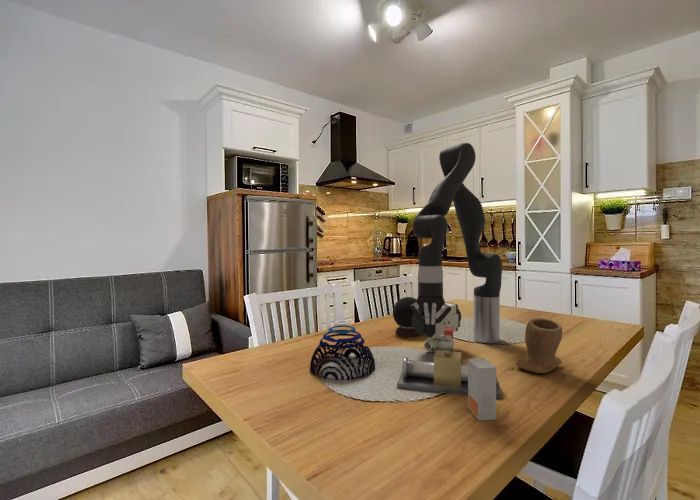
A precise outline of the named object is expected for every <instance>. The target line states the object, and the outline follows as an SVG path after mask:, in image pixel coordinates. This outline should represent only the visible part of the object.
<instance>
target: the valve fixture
mask: <svg viewBox="0 0 700 500" xmlns="http://www.w3.org/2000/svg"><path fill="white" fill-rule="evenodd" d="M492 365H493V366H495V364H492ZM401 369H402V371H401V373H400V375H399V378H398V380H397V383H396V388H397V389H404V390H413V391H421V392H423V391H424V392H433V393H440V392H444V393H443V394H449V395H450V394H451V395H459V396H460V395H462V396H468V364H462V352H461V351H452V350H445V351H440V350H435V352H434V354H433V361H425V360H423V361H422V360H410V359H409V358H408V357H403V360H402V368H401ZM497 399H498V400H501V399H502V394H501V390H500V385H499V382H498V377H497V376H496V400H497Z"/></svg>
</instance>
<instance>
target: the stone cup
mask: <svg viewBox="0 0 700 500" xmlns="http://www.w3.org/2000/svg"><path fill="white" fill-rule="evenodd" d="M525 327H526V328H525V333H524V336H525V337H524V339H525V345H526V350H527V353H526V354H525V355H523V356H521V357H520V358H518V359H516V360H515V362H514V364H515V366H517V367H518V368H520V369H522V370H525V371H528V372H532V373H535V374H537V373H538V374H546V373H549V372H552V371H553V370H554V369H555V368H557V367H558V366H559V365H560V364H562V362H563V361H562V359H560V358H559V357H558V356H556V353H557V350H558V348H559V346H560V343H561V341H562V338H563V327H562V325H561V324H560V323H558V322H557V321H554V320H552V319H548V318H543V317H536V318H532V319H530V320H528V322H527V324H526V326H525Z"/></svg>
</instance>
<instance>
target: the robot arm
mask: <svg viewBox="0 0 700 500" xmlns="http://www.w3.org/2000/svg"><path fill="white" fill-rule="evenodd" d="M476 156H477V155H476V150H475V148H474V146H473V145H472V144H471V143H469V142H462V143H458V144H454V145H451V146H447V147H444V148H442V149H441V150H440V151H439V157H438V159H439V163H440V167H441V170H442V173H443V176H444V178H443V179H442V180H440V182H438V184H436V186H435V187H434V189H433V190H432V192H431V194H430V197H429V199H428V202H426V203H427V204H425V205H424V206H423V208H422V209H420V211H419V212H418V213H417V214H416V216H415V217H414V219H413V222H412V226H411V227H412V233H413V235H414V236H415V237H416V238H418V239H431V242H430V243H429V244H427V245H423V246H421V247H419V249H418V269H417V295H418V296H417V298H416V299H417V301H416V303H414V304H412V305H411V306H410V309H411V310H412V311H413V313H414V314H415V315H416V317H417V318H418V319H419V320H420V322H424V323H425V324H426V334H428V336H433V335H435V333H436V324H437V323H441V321H442V320H443V319H444V318H445V317H446V316H447V314H448V313H449V312H450V311H451V306H448V305H447V304H446V303H445V301H446V300H445V299H444V272H443V250H444V245H445V240H446V237H447V233H448V231H449V229H448V228H449V225H448V223H449V222H448V220H447V218H446V217H445V216H447V214H448V213H449V211H450V209H451V208H452V207H451V206H452V204H453V207H454V209H455V214H456V217H457V222H458V224H459V227H460V230H461V236H462V238H463V243H464V246H465V253H466V254H465V255H466V259H467V264H468V265H467V266H468V268H469V272H470V273H471V274H472V275H473V276H474V277H477V278H484V279H485V283H483V284H481V285H478V286H475V287H474V288H473V340H474V341H476V342H478V343H482V344H496V343H499V342H500V331H501V329H500V327H501V325H500V324H501V323H500V314H501V313H500V312H501V311H500V294H501V293H500V292H501V288H502V278H503V277H502V275H503V261H502V258H501V256H500V255H499V254H497V253H484V252H483V253H482V250H481V247H480V238H481V235H482V233H483V230H484V227H485V224H486V217H485V213H484V212H485V211H484V208H483V205H482V203H481V200H480V199H479V198H478V197H477V196H476V194H474V193H473V192H472V191H471V190H470V189H468V188H467V187H466V185H465V184H464V181H465V180H466V178H467V176H468V175H469V173H471V171H472V169H473V167H474V165H475V163H476ZM418 305H419V307H420V308H421V309H422V311H423V312H425V317H423V315H422V314H421V313H420V312H419V310H418V308H419V307H418ZM442 306H443V307H444V308H443V313H442V314H441V315H440V316H439V317H438V318H436V313H437V312H438V311H439V310H440V309H441V308H442ZM430 313H432V316H431V323H430Z"/></svg>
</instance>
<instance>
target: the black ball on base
mask: <svg viewBox="0 0 700 500" xmlns="http://www.w3.org/2000/svg"><path fill="white" fill-rule="evenodd" d="M416 301H417V298H415V297H411V296H406V297H402V298H400V299H399V300H398V301H396V303H395V304H394V305H393V309H392V318H393V320H394V322H395V324H396V325H398V327H397V328H396V329H395V333H394V334H395V335H396V336H399V337H404V338H413V337H414V338H417V337H421V336H422V335H420V334H417V333H416V330H415V329H414V328H413V326H412V316H413V314H414V313H413V311H412V310H411V309H410V306H411V305H412V304H414V303H416ZM418 306H419V305H418Z"/></svg>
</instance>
